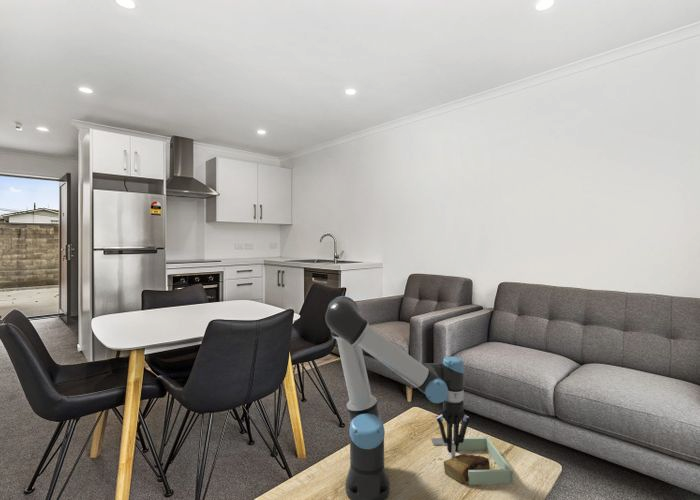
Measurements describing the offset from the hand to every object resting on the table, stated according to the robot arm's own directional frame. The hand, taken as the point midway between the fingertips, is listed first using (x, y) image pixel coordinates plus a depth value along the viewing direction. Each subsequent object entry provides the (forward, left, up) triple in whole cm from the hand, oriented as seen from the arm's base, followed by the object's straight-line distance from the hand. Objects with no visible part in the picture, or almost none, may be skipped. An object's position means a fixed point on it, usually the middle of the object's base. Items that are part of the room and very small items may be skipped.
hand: (452, 460), depth 137 cm
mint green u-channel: (+10, -1, -2) cm, 10 cm away
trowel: (+3, +15, -2) cm, 15 cm away
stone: (+3, -6, -2) cm, 7 cm away
